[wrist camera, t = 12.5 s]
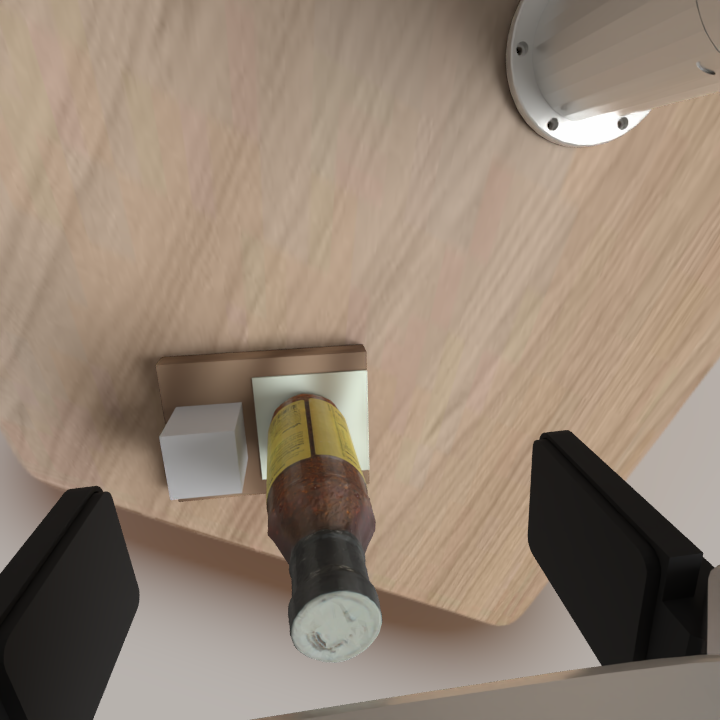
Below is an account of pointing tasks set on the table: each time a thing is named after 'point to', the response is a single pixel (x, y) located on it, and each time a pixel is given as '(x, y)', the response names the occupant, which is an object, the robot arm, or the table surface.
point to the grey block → (205, 450)
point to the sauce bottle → (321, 528)
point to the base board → (270, 393)
